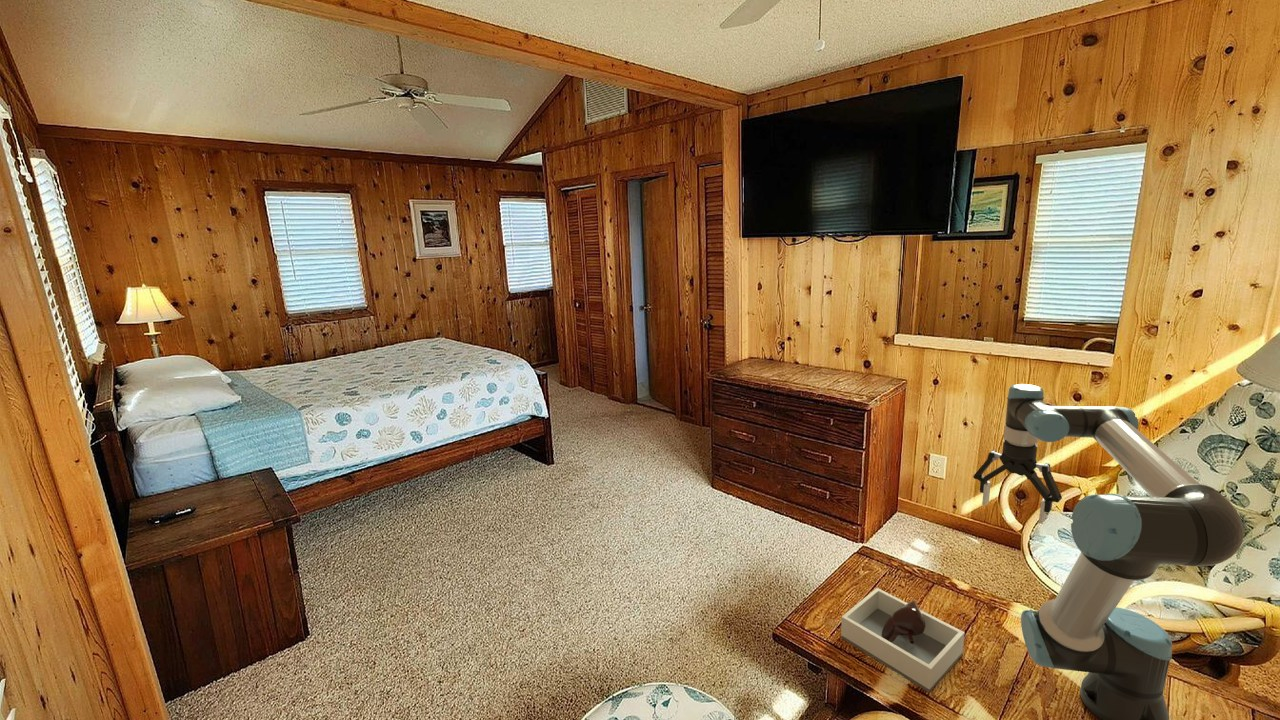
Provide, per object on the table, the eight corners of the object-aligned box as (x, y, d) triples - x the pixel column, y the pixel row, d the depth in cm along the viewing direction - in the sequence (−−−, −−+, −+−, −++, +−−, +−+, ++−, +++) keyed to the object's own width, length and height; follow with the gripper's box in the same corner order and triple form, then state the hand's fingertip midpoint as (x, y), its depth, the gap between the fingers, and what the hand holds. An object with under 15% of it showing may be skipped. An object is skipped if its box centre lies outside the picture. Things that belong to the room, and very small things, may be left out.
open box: (962, 654, 141) (964, 632, 140) (929, 692, 131) (931, 669, 129) (876, 607, 160) (876, 587, 158) (841, 638, 150) (841, 616, 148)
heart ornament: (925, 616, 149) (931, 638, 139) (882, 628, 153) (886, 651, 143) (913, 594, 149) (919, 615, 139) (871, 607, 153) (874, 629, 143)
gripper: (1082, 449, 137) (1072, 524, 142) (975, 426, 156) (969, 492, 161) (1073, 459, 132) (1063, 535, 138) (964, 433, 152) (958, 501, 157)
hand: (1012, 512), depth 150 cm, fingers open, 13 cm apart
